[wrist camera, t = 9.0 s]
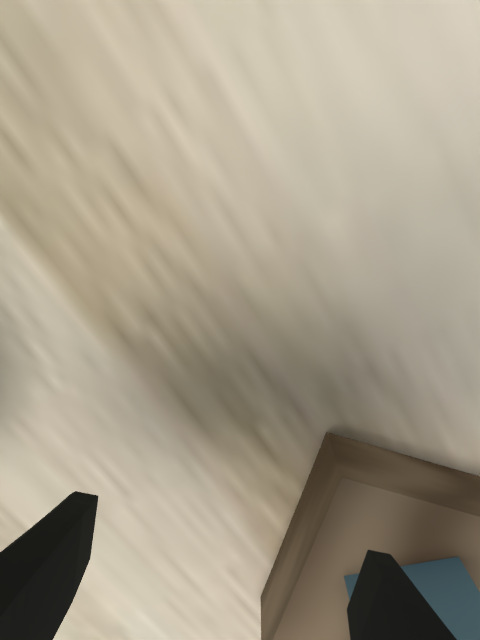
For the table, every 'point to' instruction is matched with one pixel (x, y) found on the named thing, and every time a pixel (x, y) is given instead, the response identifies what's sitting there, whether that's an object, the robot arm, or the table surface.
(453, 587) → the teal cube
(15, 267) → the table surface
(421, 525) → the plate
